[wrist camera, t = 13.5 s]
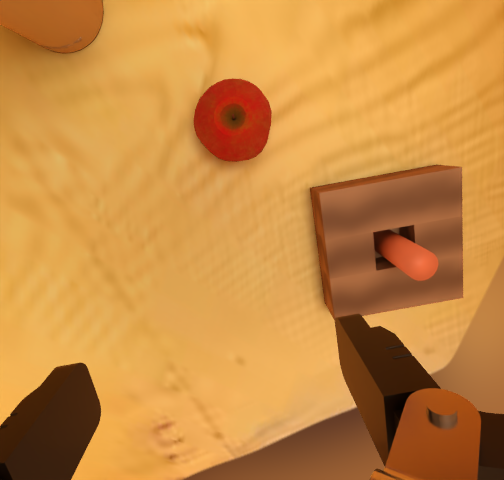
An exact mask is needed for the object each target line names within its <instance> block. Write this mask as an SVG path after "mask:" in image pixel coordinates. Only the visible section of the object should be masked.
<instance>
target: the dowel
mask: <svg viewBox="0 0 504 480" xmlns="http://www.w3.org/2000/svg"><path fill="white" fill-rule="evenodd" d="M373 237H374V249H375V251H376V252H378V253H379V254H380V255H382V256H383V257H384V258H386V259H387V260H388V261H390V262H391V263H392V264H394V265H395V266H396V267H398V268H399V269H400V270H402V271H403V272H404V273H406V274H407V275H408V276H410V277H411V278H412V279H414V280H417V281H423V280H427V279H429V278H430V277H432V276H433V275H434V274H435V272H436V271H437V268H438V259H437V257H436V255H435V254H434V253H432V252H430V251H428V250H427V249H425V248H423V247H421V246H419V245H417V244H415V243H414V242H412V241H410V240H408V239H406V238H404V237H403V236H401V235H399V234H397V233H395V232H393V231H391V230H390V229H388V230H382V231H377V232H373Z"/></svg>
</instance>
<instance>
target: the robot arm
mask: <svg viewBox="0 0 504 480" xmlns="http://www.w3.org/2000/svg"><path fill="white" fill-rule="evenodd" d="M102 17H103V4H102V0H0V25H2V26H4V27H6V28H8V29H10V30H12V31H14V32H16V33H18V34H20V35H22V36H23V37H25V38H27V39H29V40H31V41H33V42H35V43H37V44H39V45H41V46H43V47H45V48H47V49H49V50H52V51H55V52H61V53H69V52H75V51H78V50H81V49H83V48H84V47H86V46H87V45H89V44H90V43H91V42H92V41H93V40H94V38H95V37H96V35H97V33H98V32H99V29H100V26H101V23H102ZM335 327H336V335H337V343H338V351H339V359H340V365H341V369H342V373H343V376H344V379H345V382H346V384H347V386H348V388H349V390H350V392H351V395H352V397H353V399H354V401H355V403H356V405H357V408H358V410H359V412H360V414H361V416H362V418H363V421H364V423H365V425H366V427H367V429H368V431H369V434H370V436H371V438H372V440H373V442H374V444H375V447H376V449H377V451H378V453H379V455H380V457H381V459H382V462H383V464H384V466H385V468H384V470H383V471H382V470H380V469H376V470H374V472H373V473H372V475H371V478H370V480H504V414H494V413H485V412H481V411H478V410H477V409H476V408H475V406H474V405H473V404H472V403H471V402H469V401H468V400H467V399H465V398H464V397H462V396H460V395H458V394H456V393H453V392H451V391H448V390H444V389H441V388H440V387H439V386H438V385H437V383H436V382H435V381H434V380H433V379H432V377H431V376H430V375H429V374H428V373H427V371H426V370H425V369H424V368H423V367H422V366H421V364H420V363H419V362H418V361H417V360H416V358H415V357H414V356H412V355H411V353H410V351H409V350H408V349H407V348H406V347H404V344H403V343H402V342H401V341H400V340H399V338H398V337H397V336H396V335H395V334H394V333H392V332H390V331H389V330H387V329H385V328H383V327H381V326H378V327H373V328H370V327H369V325H368V324H367V323H366V321H365V320H364V318H363V317H362V316H361V315H360V314H359V313H358V314H352V315H347V316H341V317H336V318H335ZM100 416H101V406H100V402H99V399H98V396H97V393H96V390H95V388H94V385H93V382H92V379H91V376H90V374H89V371H88V368H87V366H86V365H85V364H84V363H76V364H70V365H65V366H59V367H56V368H55V369H54V370H53V371H52V372H51V373H50V375H49V376H48V377H47V378H46V379H45V381H44V382H43V383H42V384H41V385H40V387H38V388H37V389H36V390H34V391H33V392H32V393H31V394H29V395H28V396H27V397H25V398H24V399H23V400H22V401H21V402H20V403H19V405H18V406H17V407H16V408H15V409H14V410H13V412H12V413H11V416H10V417H7V419H6V420H5V421H4V422H3V423H2V425H1V426H0V480H71V478H72V476H73V474H74V472H75V470H76V468H77V466H78V464H79V462H80V460H81V458H82V456H83V454H84V452H85V450H86V448H87V446H88V444H89V442H90V440H91V438H92V436H93V434H94V432H95V430H96V428H97V426H98V424H99V421H100Z"/></svg>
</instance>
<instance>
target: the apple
mask: <svg viewBox="0 0 504 480" xmlns="http://www.w3.org/2000/svg"><path fill="white" fill-rule="evenodd" d="M270 126H271V108H270V105H269V102H268V100H267V99H266V97H265V96H264V94H263V93H262V92H261V90H260V89H259V88H258V87H257V86H255V85H254V84H252V83H250V82H248V81H245V80H242V79H225V80H222V81H220V82H218V83H216V84H214V85H213V86H211V87H210V88H209V89H208V90H207V91H206V92H205V93H204V94H203V96H202V97H201V98H200V99H199V102H198V104H197V107H196V110H195V115H194V127H195V131H196V134H197V136H198V138H199V139H200V141H201V142H202V143H203V144H204V145H205V147H206V148H207V149H208V150H209V151H210V152H211V153H212V154H214V155H215V156H216V157H218V158H220V159H223V160H226V161H243V160H249V159H251V158H253V157H256V156H257V155H258V154H259V153H260V152H261V151H262V150H263V148H264V146H265V145H266V143H267V139H268V135H269V130H270Z"/></svg>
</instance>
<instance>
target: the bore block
mask: <svg viewBox="0 0 504 480" xmlns="http://www.w3.org/2000/svg"><path fill="white" fill-rule="evenodd" d="M310 191H311V199H312V207H313V215H314V222H315V230H316V238H317V245H318V253H319V261H320V269H321V276H322V284H323V292H324V300H325V304H326V306H327V307H328V309H329V311H330V313H331V315H332V316H333V318H334V320H335V318H336V317H341V316H347V315H352V314H358V313H359V314H360V315H361V316H364V315H370V314H375V313H381V312H387V311H392V310H398V309H403V308H409V307H414V306H420V305H426V304H431V303H437V302H442V301H448V300H453V299H459V298H463V237H462V167H455V166H444V165H433V166H427V167H422V168H416V169H411V170H405V171H400V172H394V173H389V174H383V175H378V176H372V177H367V178H361V179H356V180H350V181H345V182H339V183H334V184H328V185H323V186H317V187H312V188H310ZM388 229H390V230H391V231H393V232H395V233H397V234H399V235H401V236H403V237H404V238H406V239H408V240H410V241H412V242H414V243H415V244H417V245H419V246H421V247H423V248H425V249H427V250H428V251H430V252H432V253H434V254H435V255H436V257H437V259H438V268H437V271H436V272H435V274H434V275H433V276H432V277H430V278H429V279H427V280H423V281H417V280H414V279H412V278H411V277H410V276H408V275H407V274H406V273H404V272H403V271H402V270H400V269H399V268H398V267H396V266H395V265H394V264H392V263H391V262H390V261H388V260H387V259H386V258H384V257H383V256H382V255H380V254H379V253H378V252H376V251H375V249H374V237H373V232H377V231H382V230H388Z"/></svg>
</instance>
